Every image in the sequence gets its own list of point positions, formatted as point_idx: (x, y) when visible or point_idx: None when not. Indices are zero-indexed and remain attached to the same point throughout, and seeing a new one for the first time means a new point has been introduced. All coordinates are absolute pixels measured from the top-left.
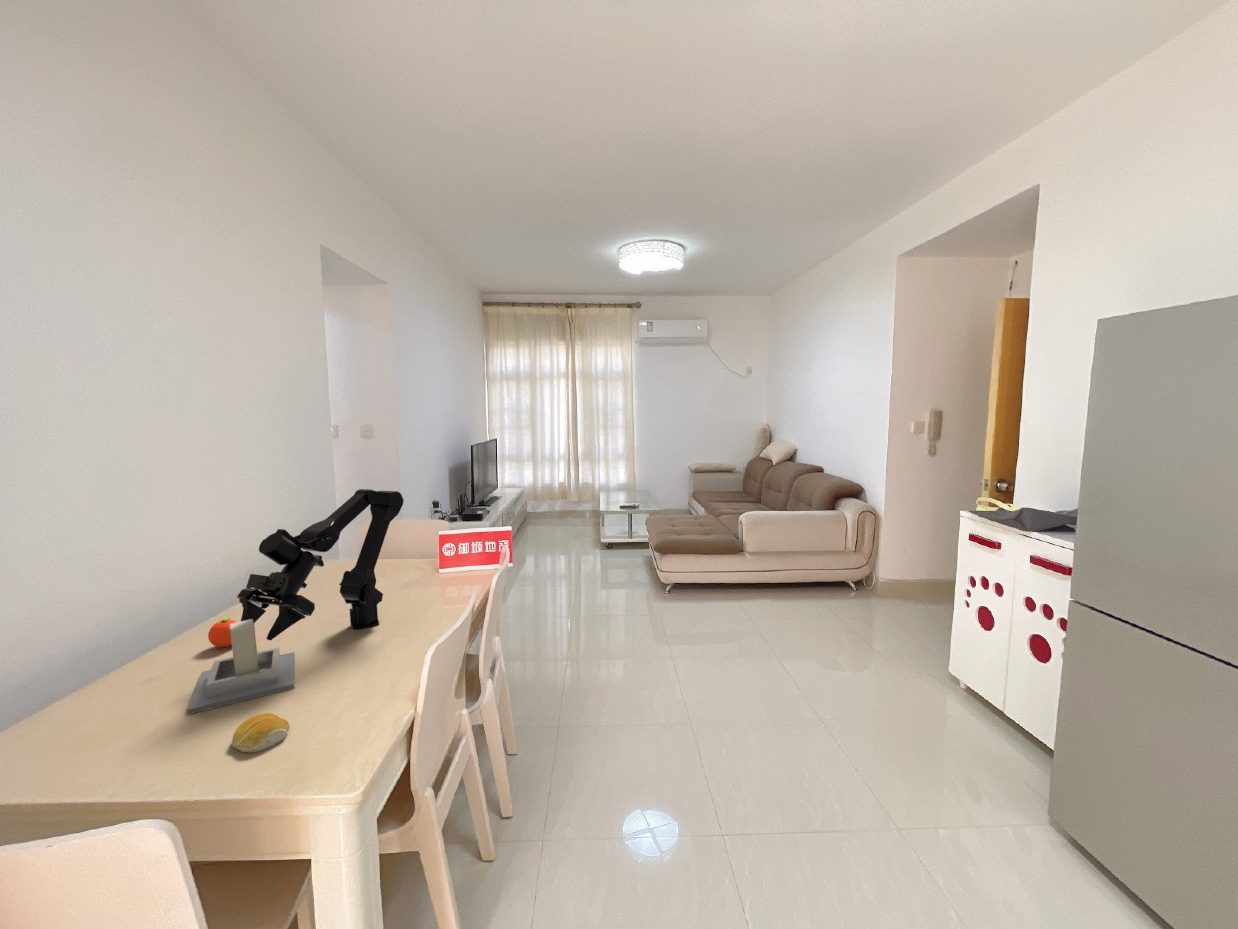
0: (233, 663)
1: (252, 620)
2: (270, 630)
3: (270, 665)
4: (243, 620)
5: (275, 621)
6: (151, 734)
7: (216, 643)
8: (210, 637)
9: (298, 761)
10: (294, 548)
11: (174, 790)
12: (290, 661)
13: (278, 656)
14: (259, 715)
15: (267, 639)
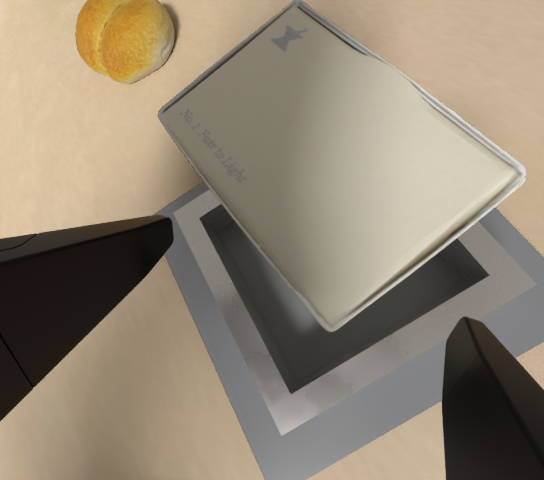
0: (434, 305)
1: (293, 285)
2: (121, 228)
3: (299, 354)
4: (525, 417)
5: (36, 249)
6: (383, 15)
7: None
8: None
9: (55, 16)
10: None
11: None
12: (237, 387)
13: (226, 321)
14: (115, 22)
15: (170, 223)
